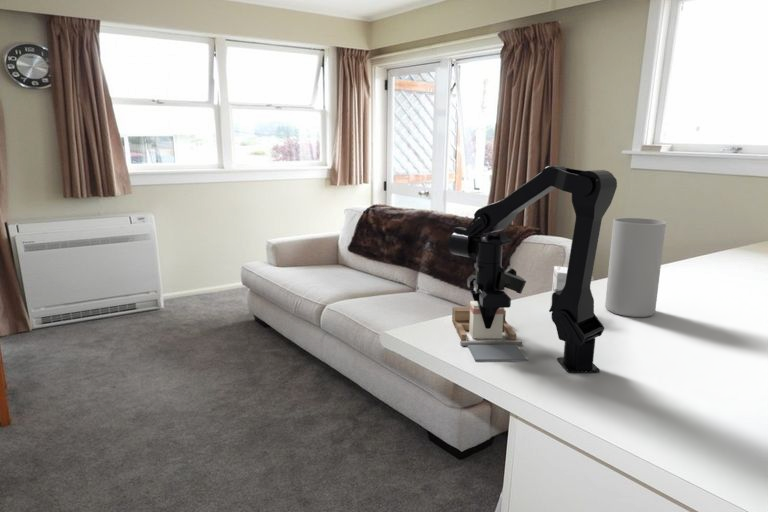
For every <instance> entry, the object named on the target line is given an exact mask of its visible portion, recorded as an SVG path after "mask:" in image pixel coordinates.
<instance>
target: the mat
mask: <svg viewBox="0 0 768 512" xmlns="http://www.w3.org/2000/svg"><path fill="white" fill-rule="evenodd" d="M467 347H468V350H469V351H470V353H471V355H472V358H473V360H474V362H508V361H509V362H513V361H514V362H522V361H523V362H527V361H528V358H527V356H526V355H525V354H524V353H523V351H522V350H521V349H520V347H519V345H468V346H467Z"/></svg>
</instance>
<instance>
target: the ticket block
mask: <svg viewBox="0 0 768 512" xmlns="http://www.w3.org/2000/svg"><path fill="white" fill-rule="evenodd" d="M469 307H470V324H469V330H468V332H469V335H470V337H471V339H472V338H477V339H478V340H479V339H503V331H504V330H503V314H504V309H505V308H499V309H498V310H497V312H496V314H495V317H494V320H493V322H492V325H491V328H490V329H486V328H485V325H484V322H483V319H482V316H481V312H480V309H479V306H478V303H477V301H474V300H470V303H469Z"/></svg>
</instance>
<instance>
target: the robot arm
mask: <svg viewBox="0 0 768 512" xmlns="http://www.w3.org/2000/svg"><path fill="white" fill-rule="evenodd" d="M617 188H618V180H617V178H616V177H615V176H614V175H613V173H612V172H610V170H609V171H608V170H606V169H598V170H596V169H594V170H581V169H575V168H570V167H566V166H564V165H547V166H546V167H544V168H543V169H542V170H541V172H539V173H538V174H536V175H535V176H534V177H532V178H530V179H529V180H528V181H527V182H525V183H524V184H522V185H521V186H519V188H516V189H515V190H514V191H512V192H511V193H510V194H508V195H507V196H505V197H504V198H502V199H501V200H498V201H495V202H492V203H489V204H487V205H484V206H482V207H480V208H479V209H477V210H476V211H475V212H474V214H473V216H474V217H473V219H472V221H471V222H470V223H469V225H468V226H467V228H465V227H464V226H463V227H462V226H459V227H458V226H457V227H454V229H453V230H454V232H453V233H452V234H451V235H450V238H449V241H447V247H448V251H449V252H450V254H452V255H455V256H461V257H464V258H470V259H473V258H475V257H476V262H474V265H473V268H474V269H475V274H471V275H470V276H469V277H467V283H466V285H467V288H468V289H472V288H473V290H470V291H469V293H470V295H471V298H472V301H477V303H478V306H479V309H480V312H481V316H482V319H483V322H484V325H485V328H486V329H490V328H491V325H492V322H493V320H494V317H495V314H496V312H497V310H498V309H499V308H504V309H505V308H511V304H512V303H511V302H512V298H511V297H510V296H509V295H508V294H507V293H506V292H505V288H506V289H508V290H511V291H514V292H515V293H516V294H522V293H523V290H524V287H525V286H526V284H527V280H525V278H524V277H521V276H520V275H517V270H516V269H514V268H512V267H507V268H506V269H505V268H504V266H502V260H503V259H502V258H503V246H504V245H509V244H511V243H512V240H511V239H510V238H509V237H508V236H507V235H506V233H504V232H501V231H503V230H505V229H506V228H507V227H508V226H509V225H510V224H512V223H513V222H514V220H515V218H516V217H517V215H518V214H519V213H521V212H522V211H523V210H525V209H527V208H528V207H529V206H531V205H532V204H533V203H536V202H537V201H538V200H540V199H541V198H543V197H544V196H546V195H547V194H549V193H550V192H551V191H553V190H555V189H557V190H558V189H559V190H561V191H562V192H566V193H570V194H571V203H572V207H573V211H574V213H575V214H574V215H575V220H574V221H575V222H574V227H573V232H572V239H571V244H570V245H571V246H570V252H569V259H568V264H567V267H568V270H567V276H566V282H565V286H564V288H563V289H562V290H560V291H557V292H554V293H553V295H552V294H551V296H552V306H551V305H550V308H549V309H548V311H549V313H551V321H552V323H553V324H554V325H555V328H556V329H555V330H556V332H557V337H558V340H560V341H563V342H564V349H563V357H559V356H558V357H557V358H556V361H557V362H559V364H560V365H561V366H562V368H564V370H565V371H566V372H567V373H600V370H601V369H600V368H599V367H598V366H597V365H595V364H594V357H595V349H596V348H595V347H596V338H597V337H601V336H602V334H603V332H604V331H605V326H604V324H603V323H602V322H601V321H600V319H599V318H598V316H597V315H596V314H595V300H594V296H593V293H592V290H591V282H592V278H593V277H592V276H593V273H594V272H593V271H594V266H595V262H596V261H595V260H596V254H597V248H598V243H599V238H600V231H601V225H602V221H603V217H604V216H605V214H606V212H607V211H608V209H609V208H610V206H611V204H612V201H613V199H614V196H615V193H616V190H617ZM495 232H496V233H497V232H501V233H498V234H497V235H495V234H492V233H495ZM483 235H485V236H483Z"/></svg>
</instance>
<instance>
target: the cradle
mask: <svg viewBox="0 0 768 512" xmlns="http://www.w3.org/2000/svg"><path fill="white" fill-rule="evenodd" d="M506 310H507V309H505V308H504V314H503V330H502V331H503V332H504V333H505V334H506V336H507V337H508V339H509V340H467V336H468V335H467V331H469V324H470V306H452V311H451V312H452V314H451V322H452V324H453V326H454V328H455V331H456V333H457V334H458V337H459V339H460V341H459V342H460V346H461V347H468V345H517V346H523V343H524V342H523V341H522V340H520V339H518V340H517V333H516V332H515V330H513V328H512V327H511V325H510V324H509V323H508V322H507V321H506V315H507V311H506Z"/></svg>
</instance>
